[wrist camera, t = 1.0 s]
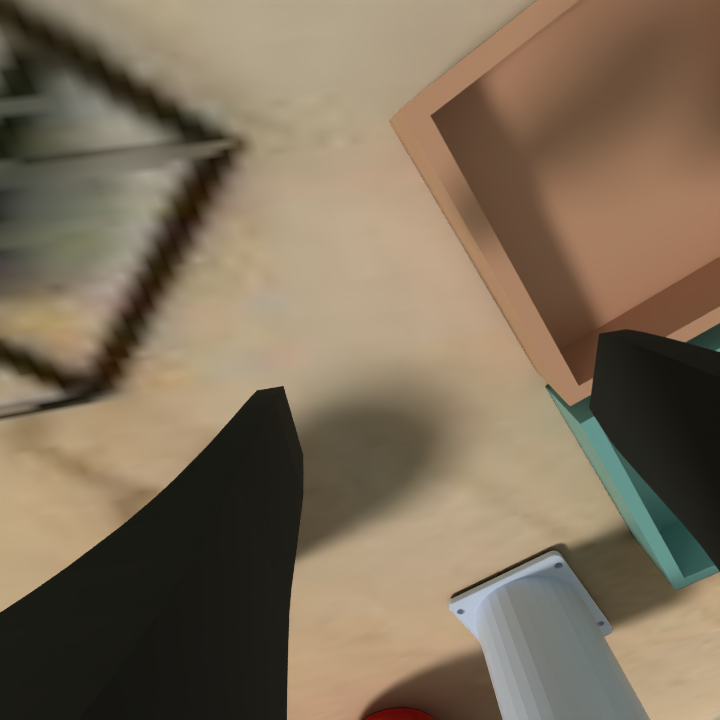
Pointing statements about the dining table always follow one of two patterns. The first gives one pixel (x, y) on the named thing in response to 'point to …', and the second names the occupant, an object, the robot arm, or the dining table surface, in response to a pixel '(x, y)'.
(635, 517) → the bin
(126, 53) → the dining table surface
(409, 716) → the ceramic cup
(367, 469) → the dining table surface
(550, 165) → the bin
